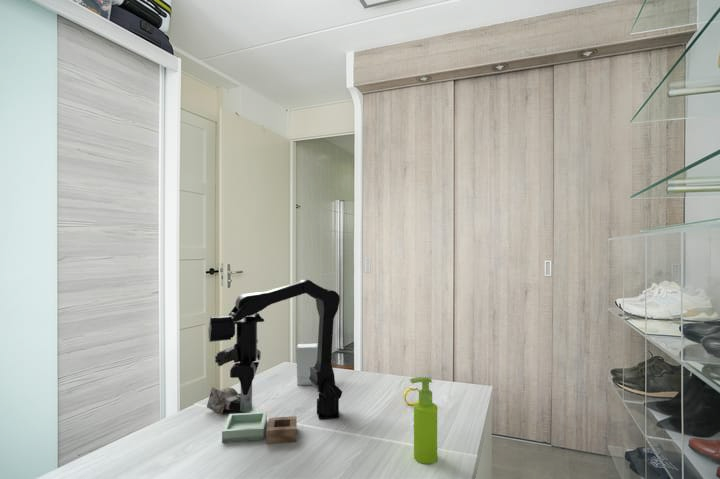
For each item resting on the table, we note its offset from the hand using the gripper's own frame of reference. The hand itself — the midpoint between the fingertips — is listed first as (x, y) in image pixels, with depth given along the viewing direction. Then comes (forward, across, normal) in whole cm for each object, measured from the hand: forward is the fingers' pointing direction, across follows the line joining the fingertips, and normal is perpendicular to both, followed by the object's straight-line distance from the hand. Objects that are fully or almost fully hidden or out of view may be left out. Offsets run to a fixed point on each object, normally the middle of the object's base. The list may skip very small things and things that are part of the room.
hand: (246, 392), depth 112 cm
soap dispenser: (+12, +21, +46) cm, 52 cm away
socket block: (+11, +4, +10) cm, 16 cm away
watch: (+12, -12, +53) cm, 56 cm away
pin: (+5, 0, 0) cm, 5 cm away
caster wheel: (+12, -17, -7) cm, 22 cm away
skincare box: (+12, -38, +18) cm, 44 cm away
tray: (+11, 0, 0) cm, 11 cm away
